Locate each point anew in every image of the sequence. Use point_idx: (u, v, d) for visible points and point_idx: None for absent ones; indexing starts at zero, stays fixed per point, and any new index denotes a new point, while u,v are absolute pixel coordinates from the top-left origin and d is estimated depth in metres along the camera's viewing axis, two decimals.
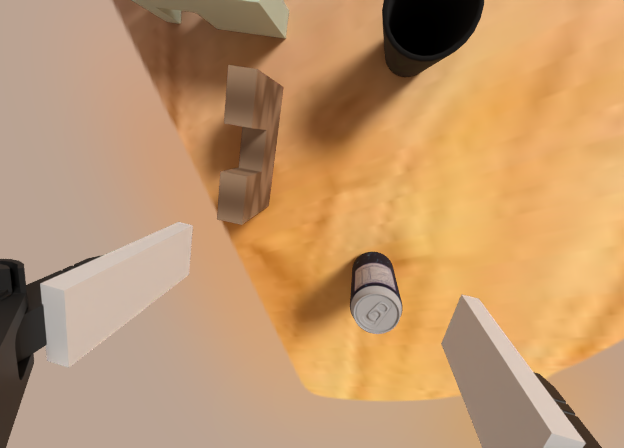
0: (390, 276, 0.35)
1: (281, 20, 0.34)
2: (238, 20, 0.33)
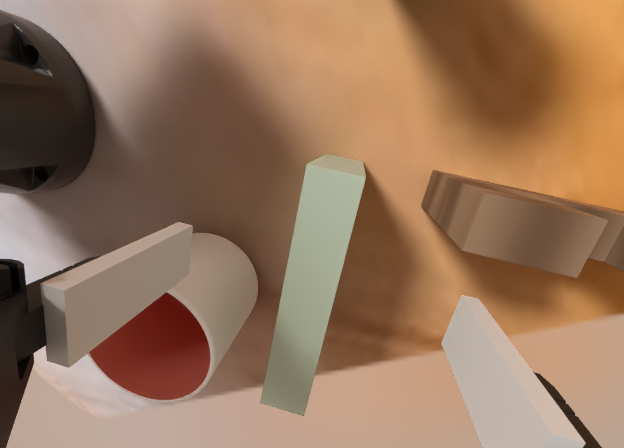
0: None
1: (348, 160, 0.21)
2: None
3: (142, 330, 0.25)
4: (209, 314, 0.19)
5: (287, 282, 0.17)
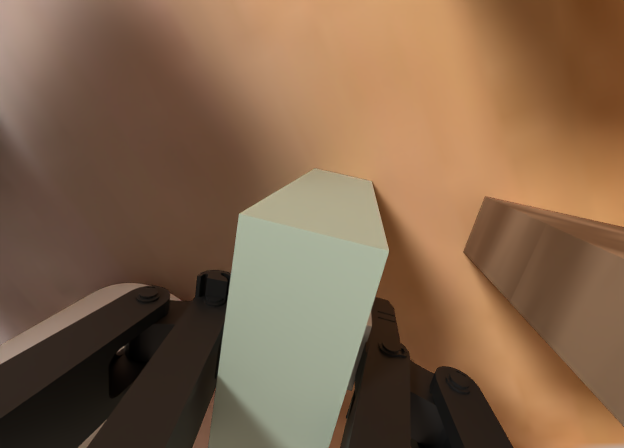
0: None
1: (348, 183, 0.13)
2: None
3: None
4: None
5: None
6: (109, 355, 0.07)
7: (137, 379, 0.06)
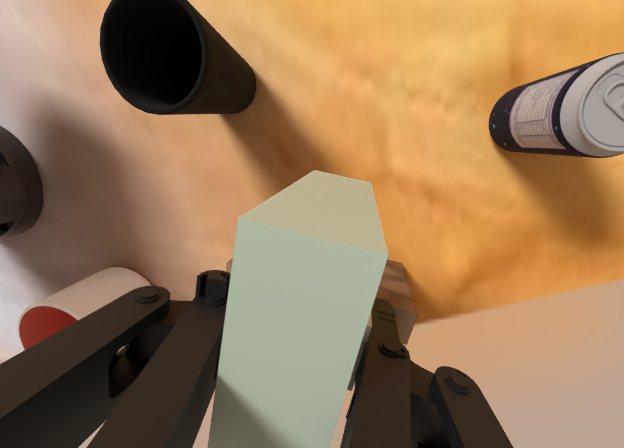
0: (542, 84, 0.20)
1: (348, 185, 0.13)
2: None
3: None
4: None
5: None
6: (109, 355, 0.07)
7: (137, 379, 0.06)
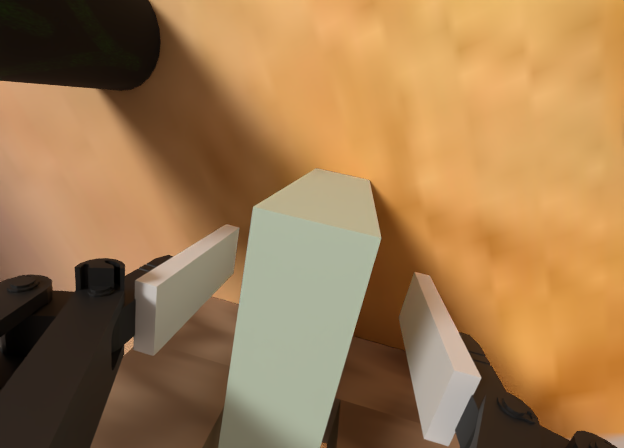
0: None
1: (347, 182, 0.14)
2: None
3: None
4: None
5: (229, 421, 0.09)
6: None
7: (8, 383, 0.06)
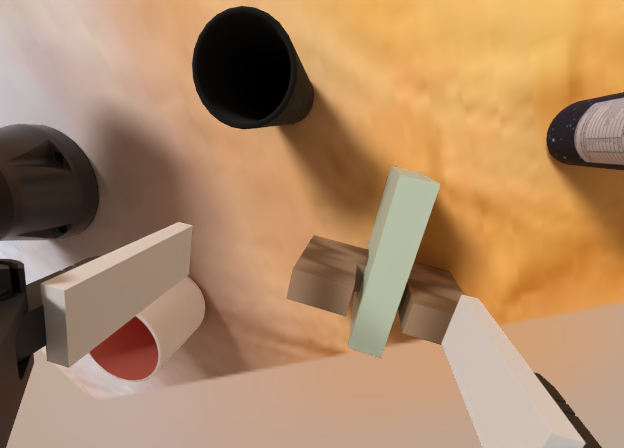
0: (614, 103, 0.21)
1: (412, 171, 0.29)
2: None
3: (123, 335, 0.38)
4: (158, 327, 0.31)
5: (378, 256, 0.24)
6: None
7: None
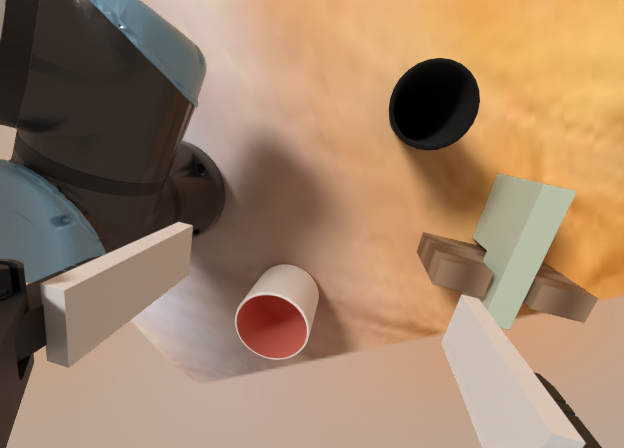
0: None
1: None
2: None
3: (254, 322, 0.43)
4: (306, 312, 0.37)
5: (517, 248, 0.30)
6: None
7: None
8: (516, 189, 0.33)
